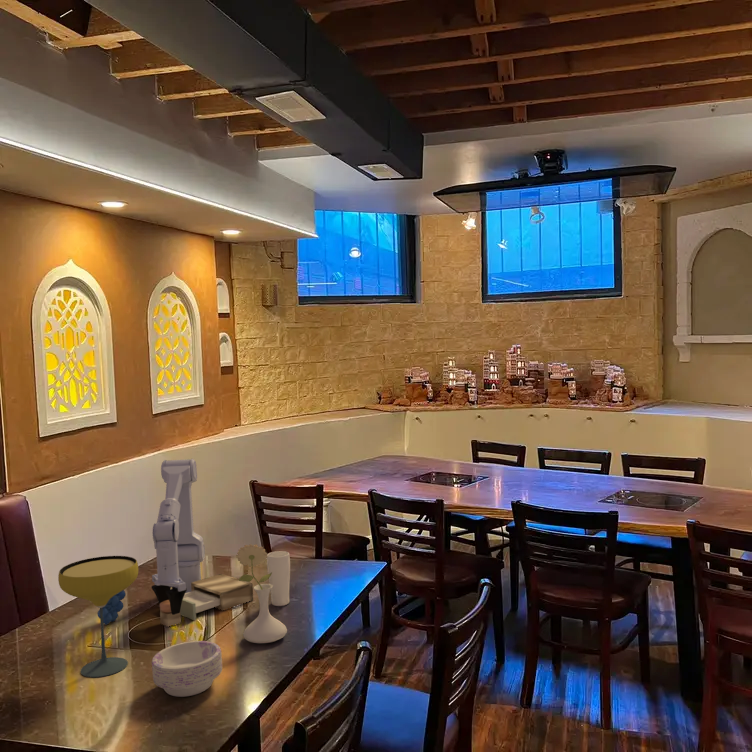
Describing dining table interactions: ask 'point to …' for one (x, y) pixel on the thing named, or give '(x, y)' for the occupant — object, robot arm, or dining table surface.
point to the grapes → (112, 608)
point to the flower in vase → (260, 599)
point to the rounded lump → (165, 606)
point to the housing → (225, 590)
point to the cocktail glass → (99, 597)
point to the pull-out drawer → (197, 603)
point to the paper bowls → (187, 667)
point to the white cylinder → (279, 577)
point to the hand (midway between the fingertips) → (170, 611)
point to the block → (169, 618)
